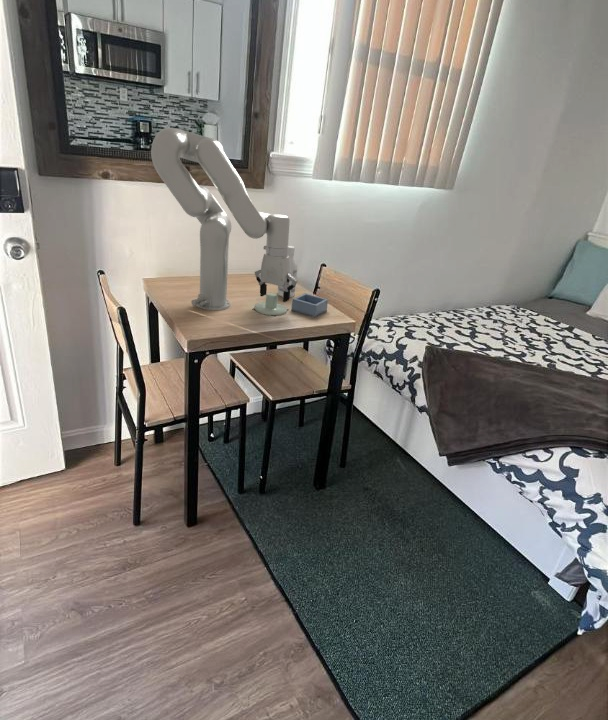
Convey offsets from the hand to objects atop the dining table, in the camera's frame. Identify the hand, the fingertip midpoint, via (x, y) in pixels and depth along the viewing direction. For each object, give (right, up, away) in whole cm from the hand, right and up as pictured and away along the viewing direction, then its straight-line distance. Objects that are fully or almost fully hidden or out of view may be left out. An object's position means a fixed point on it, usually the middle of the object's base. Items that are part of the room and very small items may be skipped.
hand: (274, 298), depth 165 cm
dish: (+13, -4, +6) cm, 15 cm away
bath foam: (+3, +4, +20) cm, 21 cm away
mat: (-2, -4, +2) cm, 5 cm away
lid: (-2, -4, +2) cm, 5 cm away
